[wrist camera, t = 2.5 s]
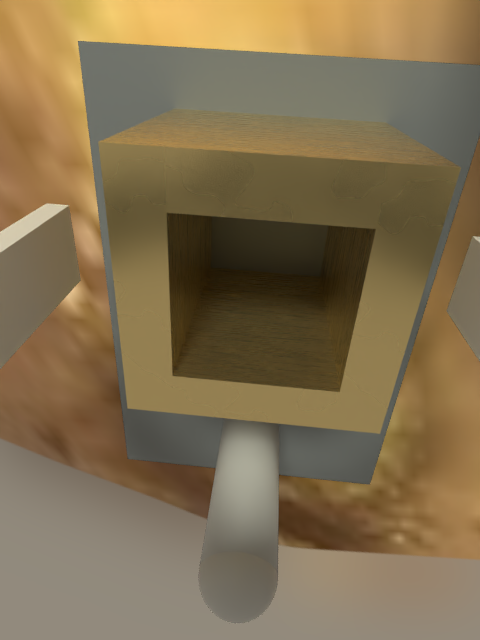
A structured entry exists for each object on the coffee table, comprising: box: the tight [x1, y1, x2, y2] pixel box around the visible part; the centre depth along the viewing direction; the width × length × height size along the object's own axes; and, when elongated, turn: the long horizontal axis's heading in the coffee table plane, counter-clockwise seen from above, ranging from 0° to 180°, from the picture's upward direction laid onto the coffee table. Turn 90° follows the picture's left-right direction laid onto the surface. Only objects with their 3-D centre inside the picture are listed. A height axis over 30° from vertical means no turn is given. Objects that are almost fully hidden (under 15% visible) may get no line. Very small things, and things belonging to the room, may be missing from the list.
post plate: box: [78, 41, 480, 623], centre depth 17 cm, size 15×22×12 cm
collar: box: [98, 109, 461, 434], centre depth 15 cm, size 8×8×8 cm
